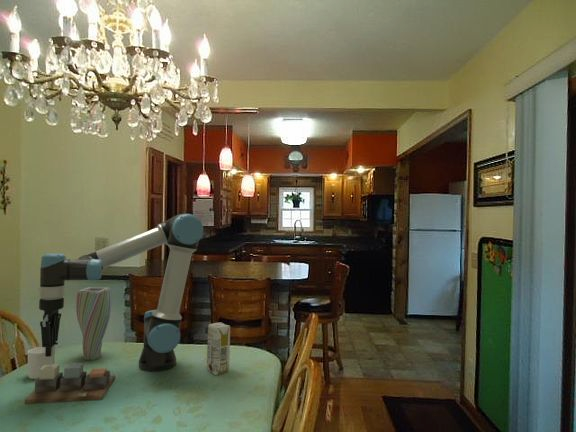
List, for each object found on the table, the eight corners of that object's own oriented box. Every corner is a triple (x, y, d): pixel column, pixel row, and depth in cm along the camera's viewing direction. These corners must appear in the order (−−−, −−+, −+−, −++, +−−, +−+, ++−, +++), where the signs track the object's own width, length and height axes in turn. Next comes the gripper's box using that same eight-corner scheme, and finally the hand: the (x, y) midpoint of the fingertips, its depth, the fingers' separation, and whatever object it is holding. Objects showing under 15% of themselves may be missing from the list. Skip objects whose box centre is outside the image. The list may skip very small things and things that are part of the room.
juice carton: (215, 376, 159) (216, 328, 159) (204, 370, 166) (205, 323, 166) (231, 372, 164) (232, 325, 164) (220, 366, 171) (221, 321, 171)
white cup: (39, 380, 151) (40, 354, 151) (21, 378, 152) (22, 352, 152) (55, 373, 158) (56, 347, 158) (38, 371, 160) (39, 345, 160)
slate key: (83, 376, 146) (83, 363, 146) (78, 382, 142) (79, 368, 142) (68, 377, 146) (69, 363, 146) (63, 382, 141) (64, 368, 141)
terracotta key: (106, 381, 148) (106, 368, 148) (102, 387, 143) (103, 373, 143) (92, 382, 147) (92, 368, 147) (88, 388, 142) (88, 373, 142)
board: (115, 378, 155) (115, 364, 155) (102, 399, 137) (103, 384, 137) (46, 381, 150) (47, 367, 150) (24, 403, 133) (25, 387, 133)
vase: (100, 363, 170) (102, 292, 170) (68, 362, 170) (70, 291, 170) (114, 352, 183) (116, 286, 183) (84, 351, 183) (86, 286, 184)
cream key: (59, 377, 145) (59, 364, 145) (54, 383, 140) (54, 369, 140) (44, 378, 144) (45, 364, 144) (38, 384, 139) (39, 369, 139)
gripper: (47, 294, 148) (45, 358, 148) (32, 301, 135) (29, 371, 135) (69, 294, 149) (67, 357, 149) (56, 301, 137) (53, 371, 136)
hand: (49, 364), depth 142 cm, fingers closed
